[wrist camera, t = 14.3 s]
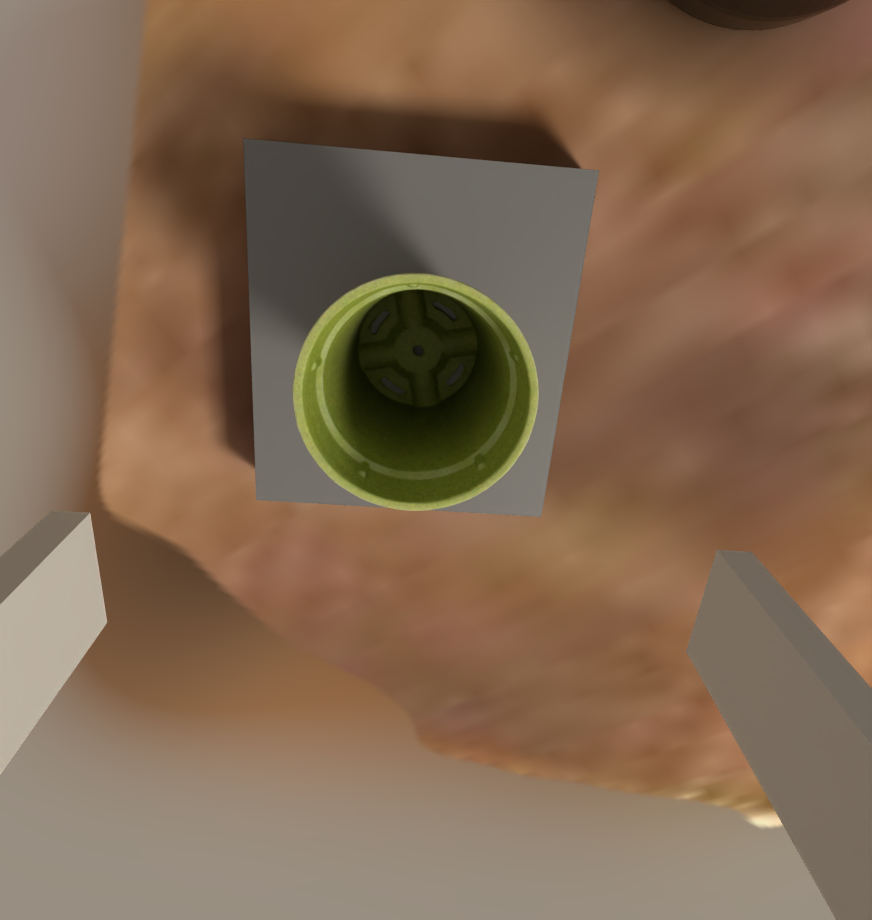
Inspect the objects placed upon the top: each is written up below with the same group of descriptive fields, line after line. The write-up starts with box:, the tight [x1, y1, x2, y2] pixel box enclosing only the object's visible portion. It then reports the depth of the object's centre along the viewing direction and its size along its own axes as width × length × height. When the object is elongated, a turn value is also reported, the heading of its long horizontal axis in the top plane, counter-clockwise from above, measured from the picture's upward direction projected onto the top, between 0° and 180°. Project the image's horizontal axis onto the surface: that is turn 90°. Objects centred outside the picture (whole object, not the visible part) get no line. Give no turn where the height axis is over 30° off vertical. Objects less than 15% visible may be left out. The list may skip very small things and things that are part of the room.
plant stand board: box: [243, 138, 599, 517], centre depth 34 cm, size 18×16×3 cm
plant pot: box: [293, 273, 539, 511], centre depth 28 cm, size 9×9×9 cm
